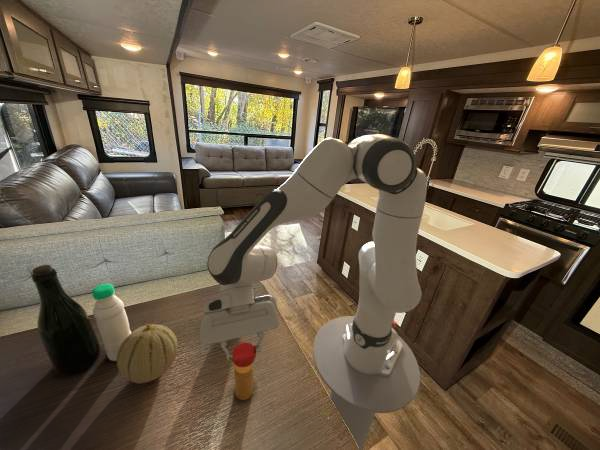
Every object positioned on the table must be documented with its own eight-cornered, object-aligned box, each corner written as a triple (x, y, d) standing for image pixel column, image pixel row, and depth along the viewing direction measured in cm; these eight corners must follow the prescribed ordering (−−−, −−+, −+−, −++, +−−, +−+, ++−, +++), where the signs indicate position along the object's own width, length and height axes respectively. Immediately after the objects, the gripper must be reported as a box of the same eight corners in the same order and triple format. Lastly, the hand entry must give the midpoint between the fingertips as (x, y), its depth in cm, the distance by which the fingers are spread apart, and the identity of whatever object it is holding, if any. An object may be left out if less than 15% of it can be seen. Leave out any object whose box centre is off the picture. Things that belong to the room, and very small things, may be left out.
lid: (228, 364, 61) (228, 359, 61) (238, 345, 67) (237, 340, 66) (251, 369, 61) (250, 364, 60) (258, 349, 66) (258, 344, 65)
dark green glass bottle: (45, 375, 69) (-5, 278, 56) (77, 344, 78) (41, 255, 65) (82, 378, 69) (41, 282, 56) (109, 346, 78) (80, 258, 65)
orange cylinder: (247, 378, 72) (247, 353, 68) (256, 392, 69) (257, 366, 65) (232, 389, 69) (230, 363, 65) (240, 404, 66) (239, 378, 62)
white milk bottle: (106, 349, 77) (85, 285, 67) (133, 338, 82) (116, 276, 72) (109, 366, 73) (86, 299, 62) (137, 354, 77) (119, 289, 67)
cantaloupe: (121, 405, 64) (107, 366, 57) (124, 359, 75) (112, 322, 69) (183, 379, 71) (177, 342, 65) (177, 341, 82) (171, 306, 76)
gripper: (272, 294, 73) (280, 344, 69) (198, 308, 66) (202, 365, 62) (277, 292, 68) (286, 346, 64) (197, 307, 61) (201, 369, 56)
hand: (244, 355), depth 63 cm, fingers closed on lid, 6 cm apart
